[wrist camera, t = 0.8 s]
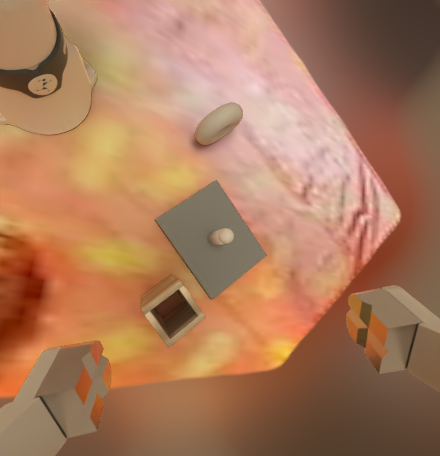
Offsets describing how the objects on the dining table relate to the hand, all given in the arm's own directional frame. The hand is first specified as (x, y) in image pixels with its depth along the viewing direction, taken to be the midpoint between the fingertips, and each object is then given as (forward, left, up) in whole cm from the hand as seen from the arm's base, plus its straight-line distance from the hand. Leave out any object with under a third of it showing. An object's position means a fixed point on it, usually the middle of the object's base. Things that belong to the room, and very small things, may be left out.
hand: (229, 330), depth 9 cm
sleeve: (+6, -2, -41) cm, 41 cm away
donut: (-15, +24, -41) cm, 50 cm away
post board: (+2, +12, -41) cm, 43 cm away
